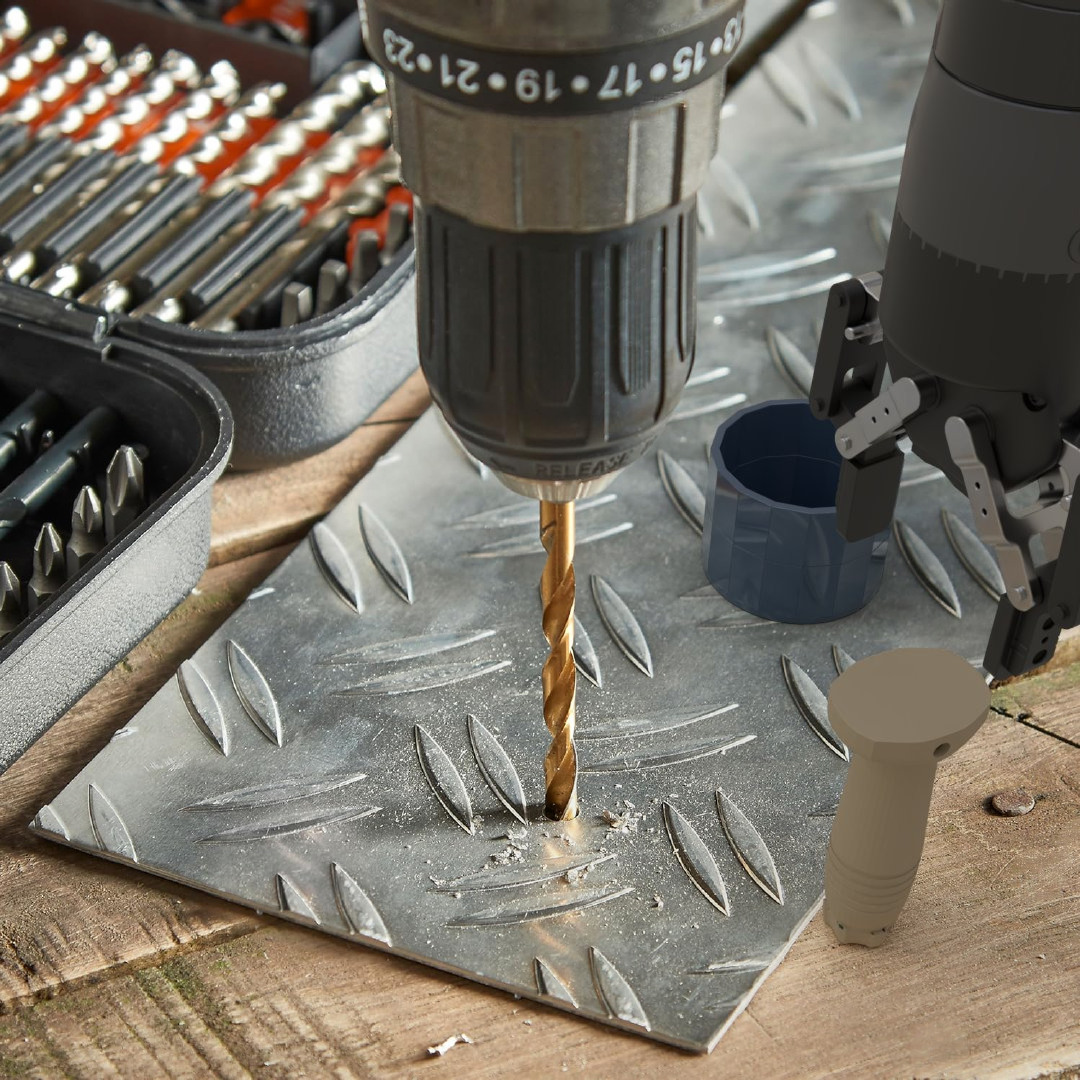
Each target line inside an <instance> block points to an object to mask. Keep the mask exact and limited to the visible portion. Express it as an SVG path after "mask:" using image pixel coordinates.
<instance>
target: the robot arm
mask: <svg viewBox="0 0 1080 1080" xmlns="http://www.w3.org/2000/svg"><path fill="white" fill-rule="evenodd" d="M891 222H892V223H891V228H890V234H889V240H888V246H887V251H886V258H885V263H884V268H881V269H880V270H879V269H878V270H876V271H870V272H866V273H864V274H860V275H857V276H853V277H850V278H849V279H846V280H842V281H839V282H836V283H833V284H832V285H831V286H830V288H829V291H828V296H827V302H826V306H825V312H824V316H823V323H822V327H821V331H820V332H821V333H820V337H819V343H818V347H817V353H816V358H815V364H814V367H813V373H812V379H811V383H810V389H809V394H808V399H809V406H810V409H811V412H812V413H813V415H814V416H815V417H816V418H817V419H818V420H825V419H828V418H829V419H830V420H831V422H832V423H833V425H834V426H835V428H836V429H837V431H836V433H835V443H836V446H837V449H838V451H839V452H840V454H841V455H842V456H843V457H842V463H841V469H840V475H839V482H838V487H837V489H838V490H837V493H836V499H835V504H836V513H837V515H838V516H837V522H836V531H837V532H838V533H839V534H840V535H841V536H842V537H843V538H844V539H845V540H847V541H848V542H849V543H854V542H857V541H859V540H862V539H865V538H867V537H870V536H873V535H875V534H878V533H880V532H882V531H884V530H885V529H886V528H887V527H888V526H889V525H890V523H891V520H892V516H893V511H894V506H895V501H896V496H897V491H898V486H899V481H900V476H901V471H902V466H903V460H904V459H905V455H906V454H905V452H904V451H903V450H901V448H900V447H899V448H900V449H899V448H898V447H896V446H895V443H896V442H897V443H898V442H901V441H903V440H905V439H907V438H908V439H909V440H910V442H911V443H912V444H911V450H910V451H911V452H912V453H913V454H914V455H916V456H917V457H918V458H919V459H920V460H921V461H923V462H924V463H926V464H928V465H929V466H932V467H934V468H936V469H939V470H940V471H941V472H942V473H943V475H944V476H945V477H946V478H947V479H948V481H949V482H950V483H951V485H952V486H953V487H954V488H955V489H956V490H958V491H959V492H960V493H961V494H962V495H963V496H965V497H966V498H967V499H968V500H969V504H970V508H971V512H972V516H973V519H974V523H975V527H976V530H977V535H978V537H979V539H980V540H981V542H982V543H983V544H985V545H988V546H991V547H993V549H994V551H995V554H996V559H997V561H998V565H999V570H1000V573H1001V577H1002V581H1003V584H1004V589H1005V592H1004V593H1002V594H1000V597H999V601H998V605H997V608H996V612H995V615H994V619H993V624H992V627H991V631H990V633H989V637H988V641H987V646H986V649H985V653H984V656H983V660H982V667H983V669H984V670H985V671H987V673H989V674H990V676H992V677H993V678H994V679H995V680H996V681H997V682H1001V681H1006V680H1007V679H1009V678H1012V677H1013V678H1018V677H1020V676H1022V675H1025V674H1027V673H1029V672H1032V671H1034V670H1036V669H1038V668H1040V667H1043V666H1045V665H1047V664H1048V663H1049V662H1050V661H1051V660H1052V659H1053V658H1054V655H1055V652H1056V649H1057V645H1058V642H1059V640H1060V636H1061V633H1062V630H1066V631H1067V630H1071V629H1074V628H1075V627H1078V626H1080V0H939V4H938V10H937V17H936V21H935V28H934V33H933V39H932V45H931V47H930V52H929V56H928V60H927V64H926V68H925V71H924V74H923V78H922V81H921V84H920V86H919V90H918V92H917V95H916V99H915V102H914V105H913V108H912V111H911V116H910V121H909V125H908V130H907V134H906V142H905V148H904V152H903V158H902V164H901V170H900V175H899V182H898V189H897V194H896V199H895V205H894V210H893V216H892V221H891ZM887 366H888V371H889V374H890V379H891V382H892V384H891V385H889V386H888V387H887V390H885V391H884V392H883V393H881V389H882V385H883V381H884V377H885V372H886V368H887ZM851 369H852V371H851V372H852V373H851V378H849V379H846V380H845V377H846V374H847V373H848V372H849V371H850V370H851ZM1035 482H1037V484H1038V488H1039V489H1038V490H1039V494H1038V497H1037V499H1036V501H1035V502H1034V503H1032V504H1030V505H1028V506H1025V507H1023V508H1019V509H1018V510H1017V509H1016V510H1015V511H1011V510H1010V508H1009V505H1008V501H1007V497H1006V495H1007V494H1010V493H1013V492H1015V491H1018V490H1021V489H1022V488H1025V487H1027V486H1029V485H1031V484H1032V483H1035ZM1036 535H1040V539H1041V542H1042V546H1043V550H1044V554H1045V558H1046V562H1045V563H1043V564H1040V565H1038V566H1036V562H1035V560H1034V555H1033V551H1032V548H1031V540H1032V538H1033V537H1034V536H1036Z"/></svg>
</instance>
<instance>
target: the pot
mask: <svg viewBox="0 0 1080 1080" xmlns="http://www.w3.org/2000/svg"><path fill="white" fill-rule="evenodd" d="M836 431H837V429H836V428H835V426H834V425H833V423H832V422H831V420H830V419H829V418H828V419H825V420H818V419H817V418H816V417H815V416H814V415H813V413H812V412H811V409H810V406H809V398H805V397H804V398H803V397H799V398H783V399H781V398H779V399H767V400H764V401H761V402H758V403H756V404H753V405H750V406H747V407H742V408H740V409H738V410H737V411H735V412H734V413H733V414H732V415H731V416H729V417H728V418H727V419H726V420H724V421H723V422H722V423H720V424H719V425H718V426H717V429H716V431H715V434H714V437H713V439H712V442H711V445H710V450H709V461H708V462H709V463H708V471H707V482H706V493H705V502H704V503H705V504H704V514H703V523H702V524H703V525H702V534H701V535H702V536H701V546H700V553H701V561H702V569H703V571H704V573H705V576H706V578H707V579H708V581H709V583H710V584H711V586H712V587H713V588H714V590H716V592H717V593H719V595H721V597H723V599H725V600H726V601H728V602H729V603H731V604H732V605H733V606H735V607H736V608H738V609H741V610H742V611H745V612H747V613H749V614H751V615H754V616H756V617H760V618H762V619H765V620H770V621H774V622H779V623H787V624H797V625H798V624H799V625H808V624H809V625H810V624H819V623H820V624H821V623H826V622H831V621H832V622H833V621H836V620H839V619H842V618H845V617H847V616H849V615H851V614H853V613H856V612H857V611H859V610H860V609H862V608H864V607H865V606H866V605H867V604H868V603H869V602H871V600H872V599H873V598H874V596H875V595H876V593H877V591H878V590H879V588H880V587H881V586H880V585H881V583H882V578H883V574H884V569H885V562H886V558H887V554H888V547H889V543H890V539H891V533H892V528H893V522H894V519H895V514H896V513H895V512H896V509H897V502H898V498H899V497H898V496H899V492H900V487H901V481H902V476H903V472H904V466H905V462H906V460H905V458H904V460H903V466H902V471H901V476H900V481H899V486H898V491H897V496H896V501H895V506H894V511H893V516H892V520H891V523H890V525H889V526H888V527H887V528H886V529H885V530H884V531H882V532H880V533H878V534H875V535H873V536H870V537H867V538H865V539H862V540H859V541H857V542H854V543H849V542H848V541H847V540H845V539H844V538H843V537H842V536H841V535H840V534H839V533H838V532H837V531H836V522H837V516H838V515H837V513H836V504H835V499H836V493H837V490H838V489H837V487H838V482H839V475H840V469H841V463H842V457H843V456H842V455H841V454H840V452H839V451H838V449H837V446H836V443H835V433H836ZM895 446H896V447H898V448H899V449H900V450H901V447H900V446H899V444H898V442H896V443H895Z"/></svg>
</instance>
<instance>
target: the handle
mask: <svg viewBox="0 0 1080 1080" xmlns="http://www.w3.org/2000/svg"><path fill="white" fill-rule="evenodd" d="M991 706H992V693H991V689H990V687H989V685H988V683H987V681H986V679H985V678H984V677H983V675H982V674H981V672H980V671H979V670H978V669H976V667H975V666H974V665H972V663H970V662H969V661H967V660H966V659H965V658H964V657H962V656H961V655H959V654H956V652H953V651H950V650H948V649H946V648H936V647H897V648H893V649H889V650H885V651H881V652H878V653H875V654H872V655H869V656H867V657H864V658H862V659H858V660H857V661H855V662H854V663H852V664H851V665H850V666H848V667H847V668H846V669H845V670H844V671H843V672H841V674H840V675H839V676H837V678H836V679H834V680H833V681H832V683H831V684H830V685H829V692H828V696H827V706H826V712H827V720H828V722H829V725H830V727H831V730H833V732H834V734H835V735H836V737H837V738H838V739H839V741H841V742H842V744H843V745H844V746H845V747H846V748H848V749H849V750H850V751H851V752H853V753H852V754H853V755H852V757H851V762H850V765H849V768H848V772H847V776H846V780H845V782H844V786H843V789H842V792H841V796H840V799H839V803H838V806H837V809H836V811H835V812H836V813H835V815H834V819H833V822H832V825H831V830H830V833H829V834H830V835H829V839H828V844H827V849H826V856H825V865H824V896H825V898H823V899H822V916H823V917H822V918H823V921H824V922H825V924H827V925H828V926H829V927H831V929H832V930H833V931H834V934H835V940H837V941H838V942H840V943H842V944H844V945H847V944H859V945H863V946H866V947H867V948H877V947H878V946H881V945H882V944H883V943H884V941H885V940H886V938H887V935H888V933H889V929H891V928H892V927H893V926H895V923H896V922H897V920H898V918H899V917H900V914H901V912H902V910H903V908H904V907H905V904H906V902H907V900H908V898H909V895H910V893H911V891H912V887H913V885H914V883H915V880H916V877H917V873H918V870H919V866H920V863H921V859H922V855H923V850H924V845H925V839H926V831H927V826H928V821H929V813H930V807H931V801H932V795H933V790H934V784H935V779H936V774H937V768H938V763H939V762H941V761H944V760H945V759H947V758H950V757H951V756H952V755H953V754H955V753H956V752H958V751H959V750H960V749H962V747H964V746H965V745H966V744H967V743H968V742H969V741H970V740H971V739H972V738H973V737H974V736H975V735H976V734H977V732H978V731H979V730H980V729H981V727H982V726H984V724H985V722H986V721H987V718H988V715H989V712H990V709H991Z"/></svg>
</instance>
